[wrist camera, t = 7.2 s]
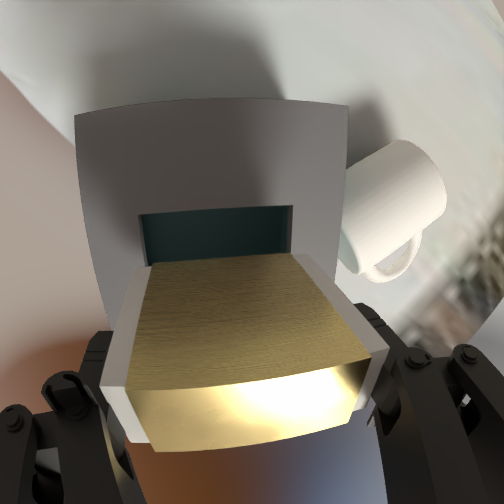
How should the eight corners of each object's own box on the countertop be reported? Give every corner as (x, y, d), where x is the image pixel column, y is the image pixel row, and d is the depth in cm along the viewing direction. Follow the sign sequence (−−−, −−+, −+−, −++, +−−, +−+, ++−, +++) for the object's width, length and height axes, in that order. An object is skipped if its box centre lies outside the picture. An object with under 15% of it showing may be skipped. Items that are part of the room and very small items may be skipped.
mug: (294, 184, 25) (335, 207, 18) (378, 135, 25) (435, 143, 18) (342, 280, 30) (381, 323, 23) (410, 232, 30) (458, 261, 23)
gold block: (162, 321, 13) (155, 451, 7) (152, 263, 12) (125, 390, 6) (287, 309, 14) (347, 422, 8) (290, 252, 13) (372, 357, 7)
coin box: (120, 120, 20) (74, 115, 11) (289, 112, 23) (348, 105, 14) (141, 294, 26) (125, 369, 17) (284, 282, 29) (322, 348, 20)
